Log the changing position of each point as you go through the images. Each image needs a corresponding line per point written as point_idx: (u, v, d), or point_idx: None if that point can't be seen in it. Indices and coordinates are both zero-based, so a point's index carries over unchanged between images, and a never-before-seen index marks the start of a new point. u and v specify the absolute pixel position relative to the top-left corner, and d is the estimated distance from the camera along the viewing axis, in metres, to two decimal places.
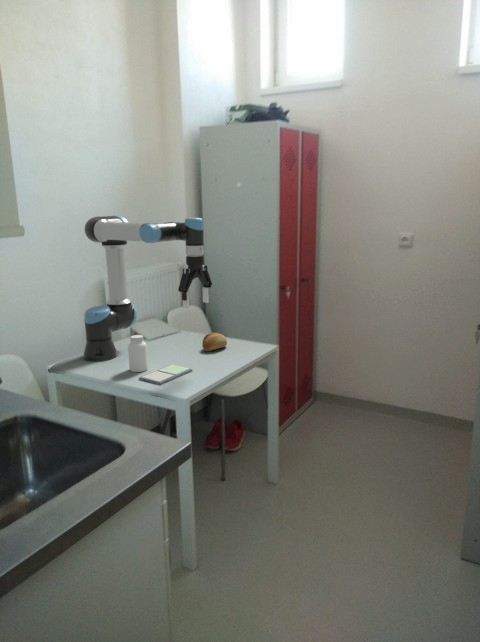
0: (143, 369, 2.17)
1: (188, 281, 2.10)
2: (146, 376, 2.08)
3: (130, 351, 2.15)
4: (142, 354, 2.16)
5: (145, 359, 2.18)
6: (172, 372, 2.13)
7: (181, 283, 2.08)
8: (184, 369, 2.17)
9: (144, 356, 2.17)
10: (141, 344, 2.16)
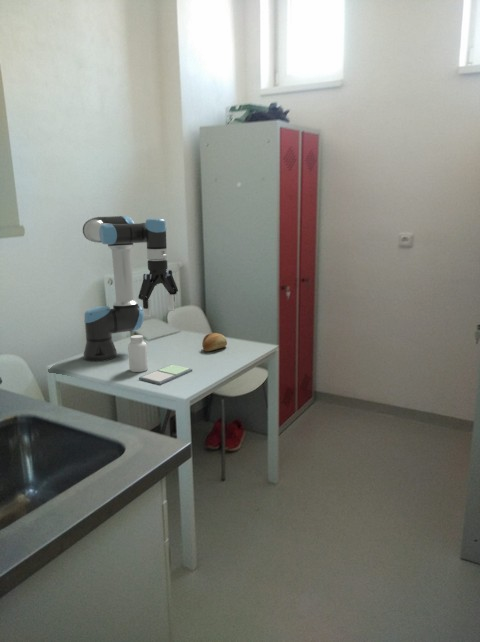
0: (143, 369, 2.17)
1: (150, 288, 1.93)
2: (146, 376, 2.08)
3: (130, 351, 2.15)
4: (142, 354, 2.16)
5: (145, 359, 2.18)
6: (172, 372, 2.13)
7: (141, 290, 1.91)
8: (184, 369, 2.17)
9: (144, 356, 2.17)
10: (141, 344, 2.16)
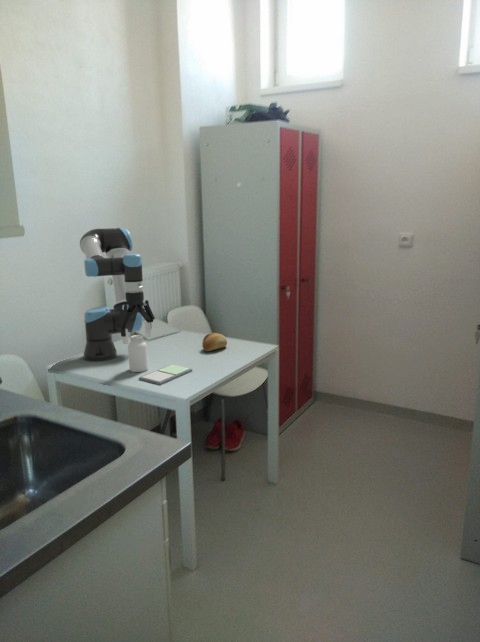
0: (143, 369, 2.17)
1: (127, 317, 2.10)
2: (146, 376, 2.08)
3: (130, 351, 2.15)
4: (142, 354, 2.16)
5: (145, 359, 2.18)
6: (172, 372, 2.13)
7: (119, 319, 2.08)
8: (184, 369, 2.17)
9: (144, 356, 2.17)
10: (141, 344, 2.16)
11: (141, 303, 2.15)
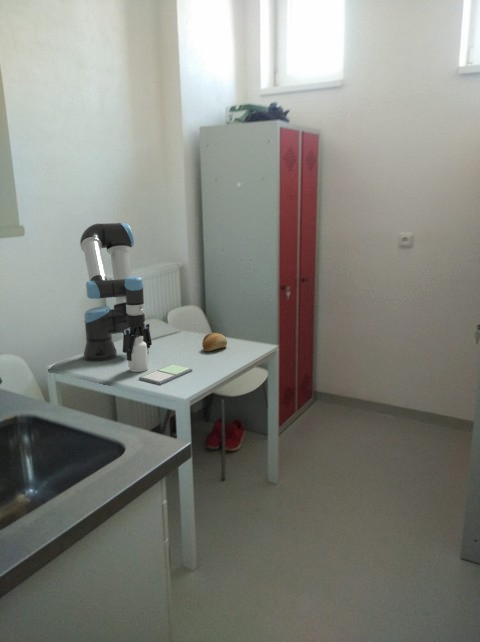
0: (143, 369, 2.17)
1: (131, 341, 2.14)
2: (146, 376, 2.08)
3: None
4: (142, 354, 2.16)
5: (145, 359, 2.18)
6: (172, 372, 2.13)
7: (124, 345, 2.12)
8: (184, 369, 2.17)
9: (144, 356, 2.17)
10: (141, 344, 2.16)
11: (142, 325, 2.18)
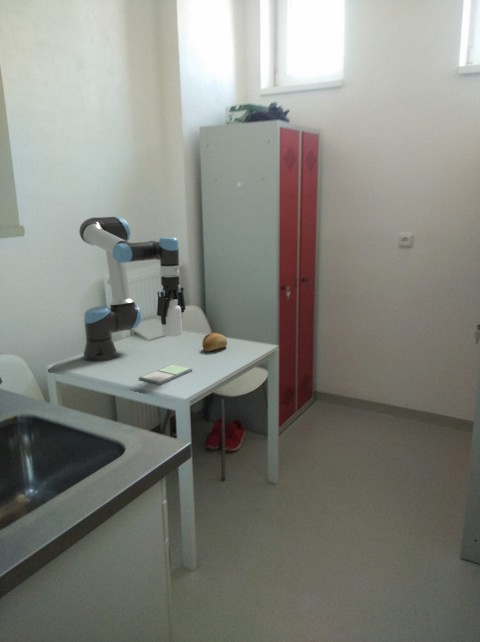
0: (177, 333, 2.10)
1: (165, 304, 2.07)
2: (146, 376, 2.08)
3: None
4: (177, 318, 2.09)
5: (180, 323, 2.10)
6: (172, 372, 2.13)
7: (158, 307, 2.05)
8: (184, 369, 2.17)
9: (179, 320, 2.10)
10: (176, 307, 2.08)
11: (177, 288, 2.10)
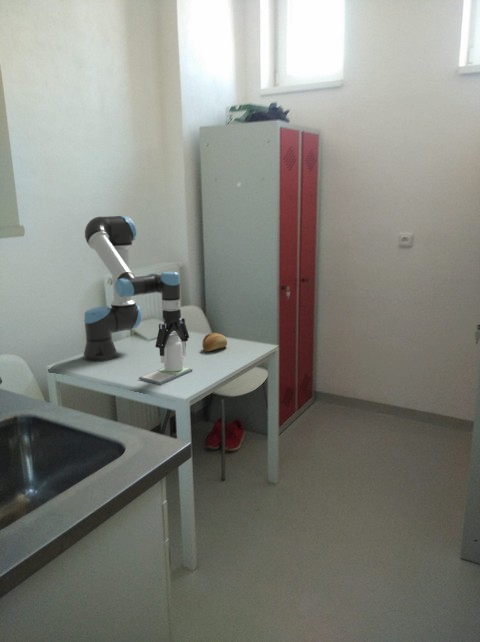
0: (179, 368, 2.14)
1: (165, 336, 2.09)
2: (146, 376, 2.08)
3: (166, 350, 2.12)
4: (178, 353, 2.12)
5: (181, 358, 2.14)
6: (172, 372, 2.13)
7: (158, 339, 2.07)
8: (184, 369, 2.17)
9: (180, 355, 2.13)
10: (177, 343, 2.12)
11: (178, 321, 2.14)
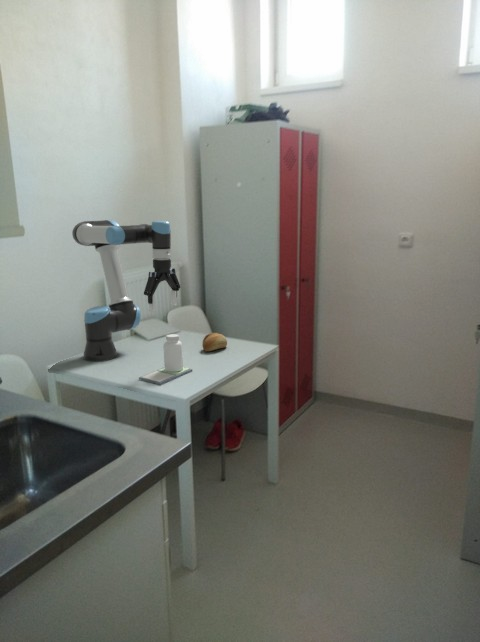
0: (179, 369, 2.14)
1: (154, 284, 2.10)
2: (146, 376, 2.08)
3: (166, 350, 2.12)
4: (178, 354, 2.12)
5: (181, 359, 2.14)
6: (172, 372, 2.13)
7: (147, 286, 2.08)
8: (184, 369, 2.17)
9: (180, 356, 2.13)
10: (177, 343, 2.12)
11: (168, 271, 2.15)
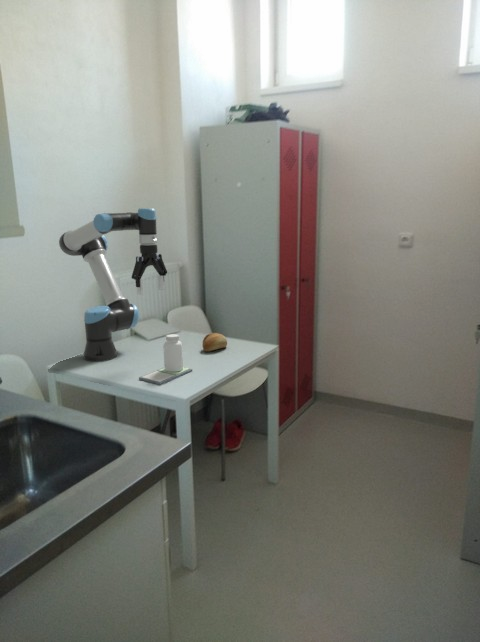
0: (179, 369, 2.14)
1: (141, 269, 2.20)
2: (146, 376, 2.08)
3: (166, 350, 2.12)
4: (178, 353, 2.12)
5: (181, 359, 2.14)
6: (172, 372, 2.13)
7: (134, 270, 2.17)
8: (184, 369, 2.17)
9: (180, 356, 2.13)
10: (177, 343, 2.12)
11: (155, 256, 2.25)
